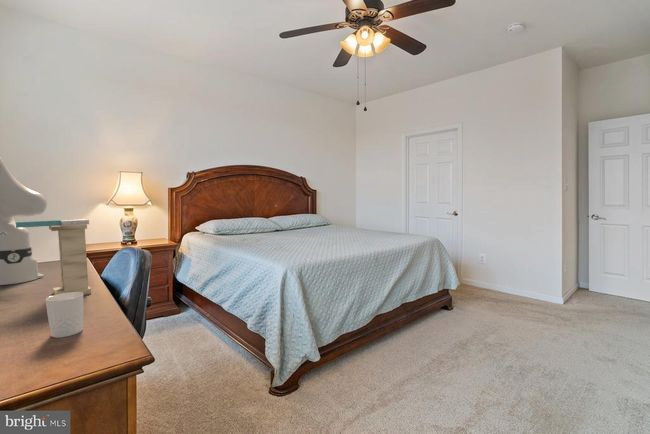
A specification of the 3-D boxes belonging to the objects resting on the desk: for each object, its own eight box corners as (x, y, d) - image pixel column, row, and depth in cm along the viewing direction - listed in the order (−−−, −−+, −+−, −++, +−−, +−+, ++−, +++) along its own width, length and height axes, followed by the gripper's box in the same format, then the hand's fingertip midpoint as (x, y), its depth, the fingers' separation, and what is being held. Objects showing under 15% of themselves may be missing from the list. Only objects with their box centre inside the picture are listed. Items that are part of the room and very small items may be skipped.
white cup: (92, 328, 90) (90, 293, 89) (61, 340, 83) (58, 302, 82) (72, 325, 93) (70, 290, 92) (40, 336, 85) (38, 299, 85)
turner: (16, 228, 109) (15, 223, 109) (15, 226, 115) (15, 221, 115) (89, 224, 123) (88, 219, 123) (85, 223, 129) (85, 218, 129)
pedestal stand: (53, 292, 124) (48, 224, 122) (85, 287, 131) (81, 222, 129) (56, 299, 116) (51, 226, 114) (91, 293, 123) (86, 224, 121)
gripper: (-60, 256, 94) (-3, 229, 102) (-50, 248, 108) (-1, 225, 116) (-41, 273, 96) (13, 245, 104) (-35, 263, 111) (12, 239, 119)
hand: (5, 234), depth 110 cm, fingers open, 8 cm apart
